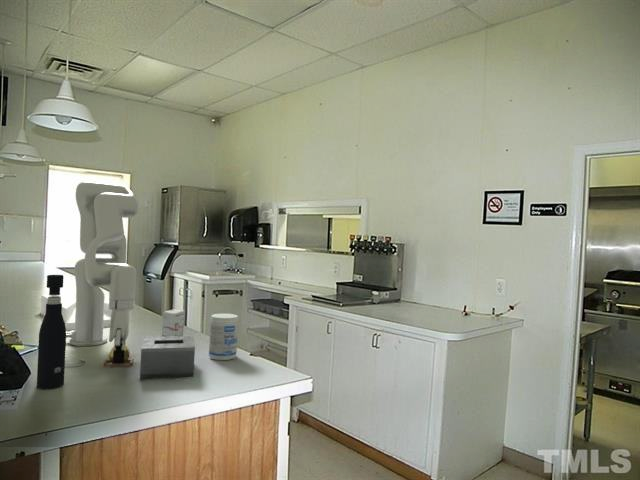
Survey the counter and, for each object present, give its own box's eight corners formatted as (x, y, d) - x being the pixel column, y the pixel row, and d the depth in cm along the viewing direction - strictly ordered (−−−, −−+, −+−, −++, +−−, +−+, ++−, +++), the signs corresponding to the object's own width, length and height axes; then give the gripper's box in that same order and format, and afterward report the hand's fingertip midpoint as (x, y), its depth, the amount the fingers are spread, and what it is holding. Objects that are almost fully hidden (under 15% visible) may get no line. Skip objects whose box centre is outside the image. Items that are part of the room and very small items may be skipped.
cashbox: (139, 379, 129) (141, 348, 129) (143, 364, 144) (145, 336, 144) (193, 377, 134) (194, 347, 134) (192, 362, 148) (193, 335, 148)
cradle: (103, 366, 139) (103, 363, 139) (105, 362, 144) (105, 359, 144) (132, 365, 142) (132, 362, 142) (133, 361, 146) (133, 358, 146)
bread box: (40, 313, 216) (41, 294, 216) (89, 310, 231) (90, 292, 231) (65, 331, 183) (66, 308, 183) (120, 326, 198) (121, 305, 198)
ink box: (172, 343, 172) (174, 313, 171) (160, 342, 173) (162, 312, 172) (183, 338, 180) (185, 309, 180) (172, 337, 181) (173, 308, 181)
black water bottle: (44, 381, 124) (49, 273, 124) (68, 381, 125) (73, 274, 124) (31, 389, 118) (36, 276, 117) (56, 389, 118) (61, 277, 118)
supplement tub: (227, 362, 151) (229, 319, 150) (203, 358, 153) (205, 316, 153) (241, 355, 160) (243, 314, 160) (217, 352, 163) (219, 312, 162)
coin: (128, 365, 142) (129, 346, 142) (108, 365, 141) (109, 346, 141) (129, 362, 145) (130, 344, 145) (109, 363, 143) (110, 344, 143)
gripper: (112, 300, 149) (109, 355, 149) (104, 308, 134) (102, 369, 134) (136, 300, 151) (134, 354, 152) (131, 308, 136) (129, 368, 136)
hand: (119, 361), depth 143 cm, fingers closed on coin, 2 cm apart
